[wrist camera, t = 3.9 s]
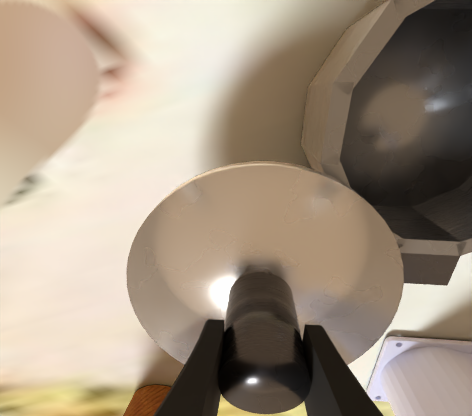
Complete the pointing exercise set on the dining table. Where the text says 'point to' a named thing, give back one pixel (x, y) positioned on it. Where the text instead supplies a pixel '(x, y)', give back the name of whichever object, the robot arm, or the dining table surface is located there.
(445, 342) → the robot arm
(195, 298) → the lid
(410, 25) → the pot
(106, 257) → the dining table surface
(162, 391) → the disposable coffee cup
